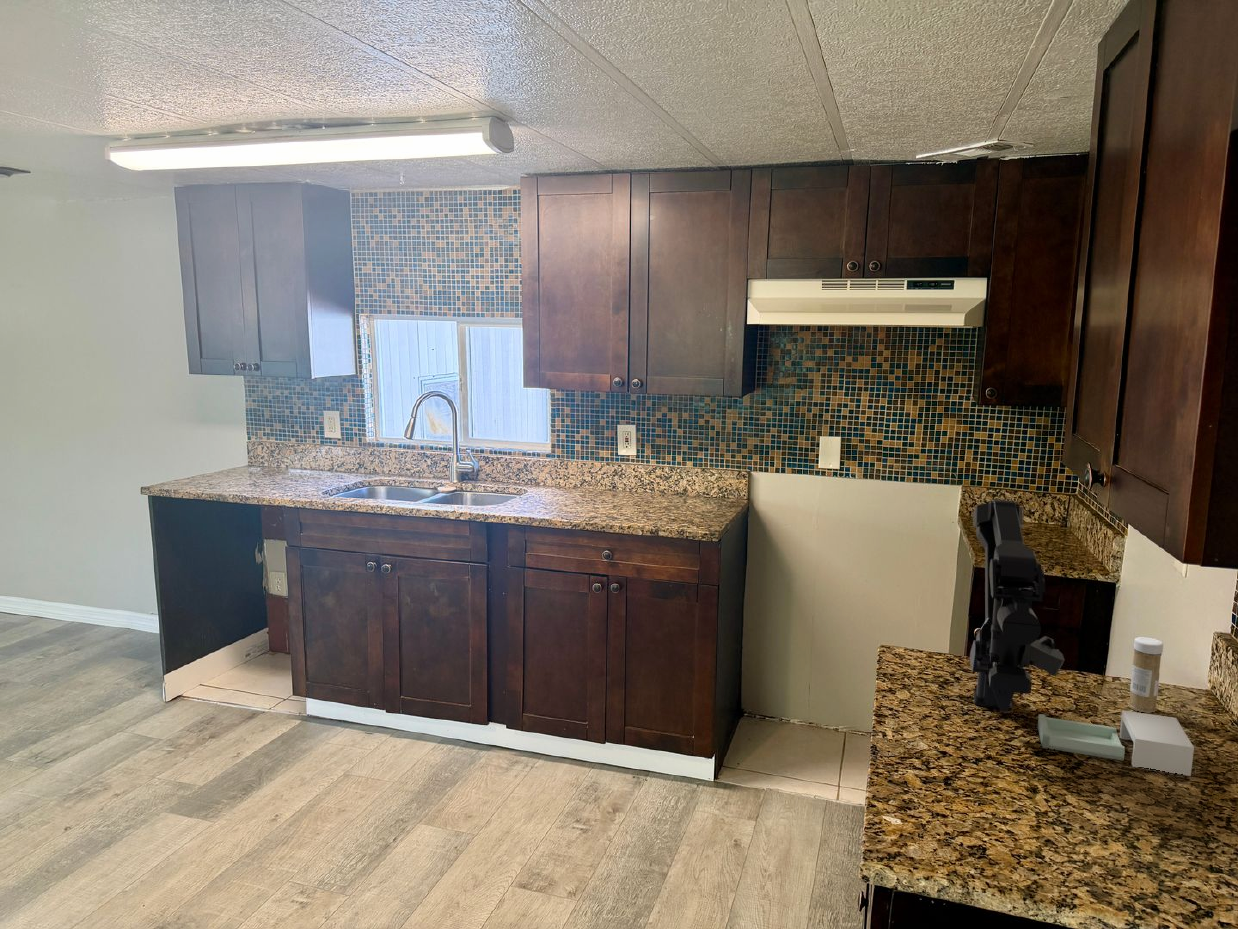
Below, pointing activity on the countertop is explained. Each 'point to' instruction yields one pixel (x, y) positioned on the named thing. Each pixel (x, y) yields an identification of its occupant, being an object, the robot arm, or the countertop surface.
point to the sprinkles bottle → (1145, 674)
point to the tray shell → (1080, 738)
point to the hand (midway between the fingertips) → (1003, 711)
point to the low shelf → (1157, 742)
